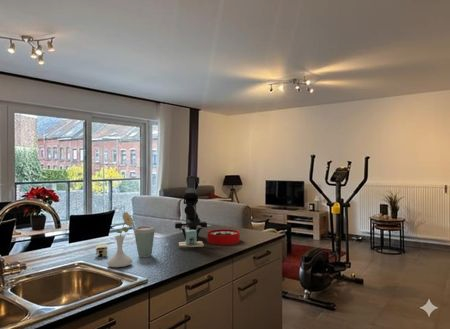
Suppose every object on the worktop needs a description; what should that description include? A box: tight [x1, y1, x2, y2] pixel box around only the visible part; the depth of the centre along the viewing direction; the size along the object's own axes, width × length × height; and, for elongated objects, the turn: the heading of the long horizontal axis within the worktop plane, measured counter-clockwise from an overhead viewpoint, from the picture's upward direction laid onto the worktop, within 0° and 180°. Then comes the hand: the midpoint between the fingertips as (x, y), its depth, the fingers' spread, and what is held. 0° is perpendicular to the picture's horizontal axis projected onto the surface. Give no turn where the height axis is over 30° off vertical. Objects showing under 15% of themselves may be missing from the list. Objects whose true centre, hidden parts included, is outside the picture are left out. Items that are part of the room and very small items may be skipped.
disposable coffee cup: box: [133, 225, 156, 258], centre depth 176 cm, size 11×11×15 cm
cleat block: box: [184, 229, 198, 244], centre depth 201 cm, size 7×6×7 cm
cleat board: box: [178, 237, 205, 249], centre depth 201 cm, size 10×14×4 cm
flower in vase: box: [106, 211, 135, 268], centre depth 159 cm, size 13×11×25 cm
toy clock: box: [207, 228, 241, 246], centre depth 211 cm, size 20×6×20 cm
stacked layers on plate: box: [95, 243, 109, 257], centre depth 177 cm, size 10×9×6 cm
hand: (190, 239), depth 201 cm, fingers closed on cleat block, 6 cm apart
